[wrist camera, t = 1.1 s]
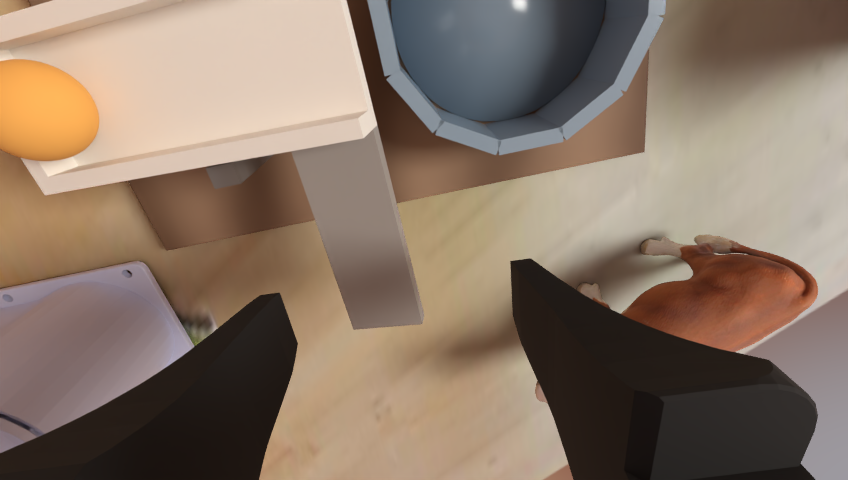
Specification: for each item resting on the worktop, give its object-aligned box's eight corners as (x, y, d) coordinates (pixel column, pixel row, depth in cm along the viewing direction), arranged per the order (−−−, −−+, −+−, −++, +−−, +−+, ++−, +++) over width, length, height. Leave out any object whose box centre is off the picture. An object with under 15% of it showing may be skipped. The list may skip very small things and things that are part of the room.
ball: (73, 152, 15) (-18, 180, 12) (21, 65, 14) (-93, 76, 11) (138, 139, 14) (55, 166, 12) (90, 46, 13) (-15, 53, 10)
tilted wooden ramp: (196, 319, 21) (155, 362, 18) (35, 32, 15) (-61, 34, 12) (427, 298, 18) (418, 344, 16) (343, -55, 12) (306, -76, 10)
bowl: (406, 153, 20) (407, 174, 16) (347, -112, 15) (332, -152, 12) (616, 108, 19) (658, 121, 16) (620, -179, 15) (679, -238, 12)
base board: (176, 242, 22) (103, 306, 17) (-6, -99, 16) (-221, -174, 10) (633, 147, 21) (713, 183, 16) (647, -264, 14) (792, -445, 9)
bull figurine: (500, 313, 25) (540, 423, 18) (710, 199, 23) (857, 275, 15) (531, 356, 27) (579, 473, 20) (730, 256, 24) (870, 348, 17)
